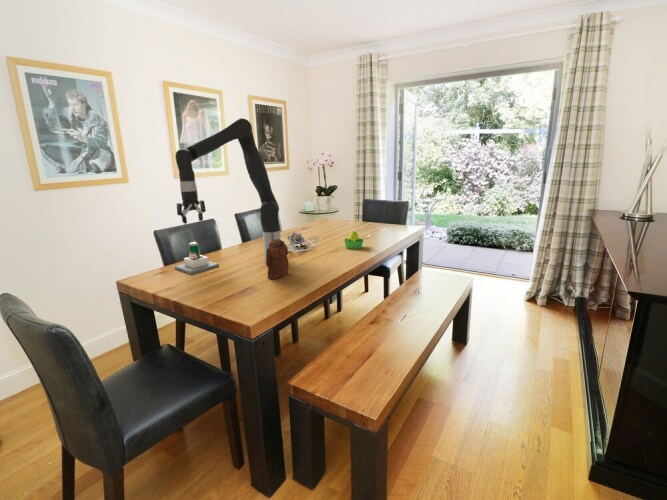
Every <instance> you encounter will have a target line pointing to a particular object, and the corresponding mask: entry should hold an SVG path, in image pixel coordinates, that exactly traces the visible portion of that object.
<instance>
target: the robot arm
mask: <svg viewBox="0 0 667 500" xmlns="http://www.w3.org/2000/svg"><path fill="white" fill-rule="evenodd" d="M234 140H238V141H237V142H238V143H239V145H240V148H241V150H242V154H243V160H244V164H245V167H246V170H247V173H248V176H249V179H250V181H251V183H252V185H253V186H254V188H255V189H256V192H257V193H258V196H259V199H260V200H259V201H260V203H261V206H260V209H259V210H260V211H259V213H260V215H259V216H260V224H261V230H262V240H263V253H264V262H265V263H266V251H267V249H268V246H269V243H270V242H271V241H272V240H274V239H280V240H281V226H280V220H279V212H280V206H279V203H278V201H277V199H276V198H275V195H274V193H273V191H272V186H271V183H270V179H269V175H268V171H267V168H266V166H265V162H264V160H263V158H262V156H261V154H260V152H259V149H258V147H257V144H256V140H255V138H254V133H253V126H252V124H251V122H250V121H249V120H248V119H246V118H243V117H242V118H241V117H240V118H237V119H236V120H235V121H233V122H231V124H229V125H227V127H225V128H223V129H222V130H221V129H220V130H219V131H218V132H216V133H213V134H211V135H209V136H207V137H204V138H202V139H200V140H198V141H196V142H193V144H191V145H190V146H187V147H185V148H180V149H178V150H177V151H176V152H175V161H176V167H177V169H178V176H179V186H180V194H181V200H182V203H181V202H180V203H179V202H177V203H176V213H177V216H180V217H181V222H182V223H183V224H188V220H187V214H188V213H189V212H190V211H191V212H192V211H195V212H197V216H198V221H199V222H203V220H204V216H203V213H206V211H207V209H206V205H205V201H204V200H199V196H198V188H197V187H198V186H197V183H196V178H195V172H194V170H193V164H192V163H193V162H194V161H196V160H198V159H199V158H201V157H203V156H206V155H208V154H210V153H212V152H214V151H216V150H218V149H219V148H220V147H223V146H224V145H225V144H227V143H230V142H232V141H234Z"/></svg>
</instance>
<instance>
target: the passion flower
mask: <svg viewBox="0 0 667 500" xmlns="http://www.w3.org/2000/svg"><path fill="white" fill-rule="evenodd" d="M287 239H288V240H289V241H290V243H289V244H290V246H294V244H301V243H303V242H304V243H305V242H306V240H307V239H306V238H305V236H304V235H302V234H301V233H300V232H295V231H293V233H292V234H291V235H288V236H287Z"/></svg>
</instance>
